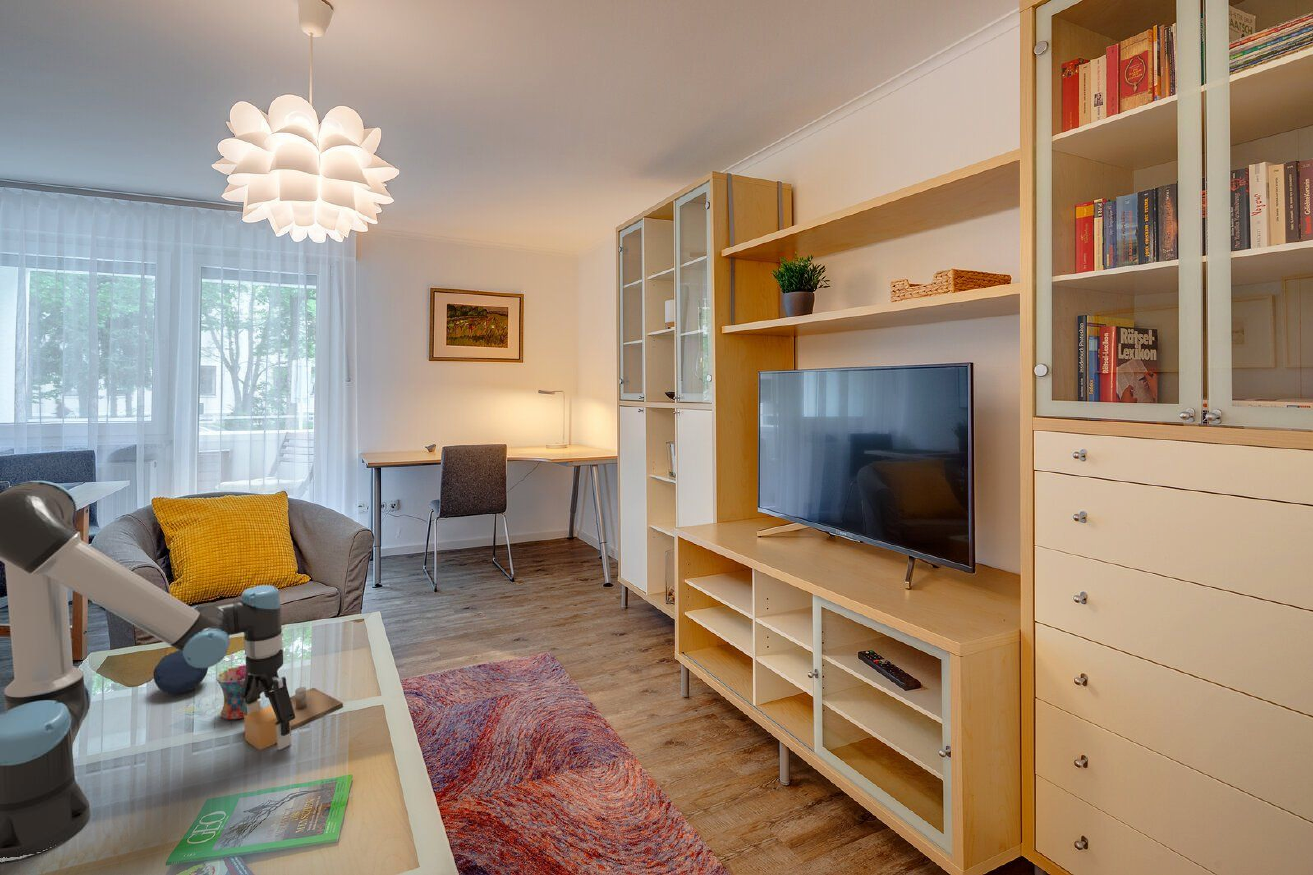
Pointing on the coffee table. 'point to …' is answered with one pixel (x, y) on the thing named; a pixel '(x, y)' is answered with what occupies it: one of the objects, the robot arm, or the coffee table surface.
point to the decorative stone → (177, 674)
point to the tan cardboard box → (261, 728)
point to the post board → (311, 705)
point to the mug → (233, 692)
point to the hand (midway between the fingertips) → (269, 737)
